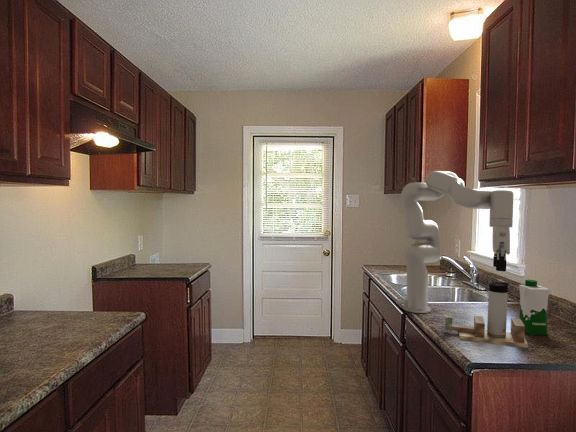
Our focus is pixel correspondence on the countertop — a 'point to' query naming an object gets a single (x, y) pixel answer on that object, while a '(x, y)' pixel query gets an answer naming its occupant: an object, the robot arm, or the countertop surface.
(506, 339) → the base
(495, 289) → the travel mug
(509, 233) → the robot arm
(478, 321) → the sliding jaw
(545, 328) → the milk carton
